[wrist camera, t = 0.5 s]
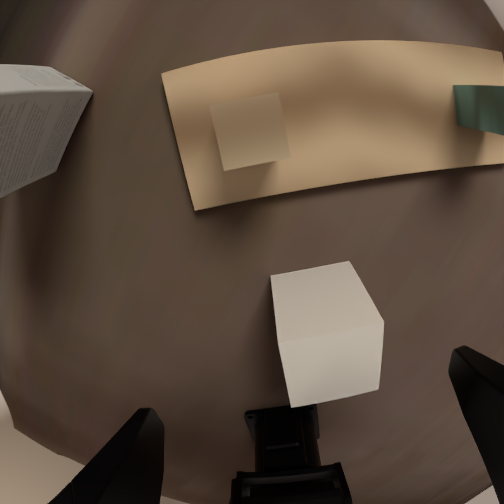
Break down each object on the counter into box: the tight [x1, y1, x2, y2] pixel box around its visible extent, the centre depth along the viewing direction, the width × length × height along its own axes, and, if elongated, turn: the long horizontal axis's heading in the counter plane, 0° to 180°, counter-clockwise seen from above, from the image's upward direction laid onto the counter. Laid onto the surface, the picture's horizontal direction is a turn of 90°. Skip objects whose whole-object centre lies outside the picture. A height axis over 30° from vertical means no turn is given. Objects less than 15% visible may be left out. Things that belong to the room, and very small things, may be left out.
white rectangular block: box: [271, 261, 384, 408], centre depth 19 cm, size 5×5×7 cm
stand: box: [161, 40, 504, 211], centre depth 14 cm, size 8×22×6 cm, turn 101°
